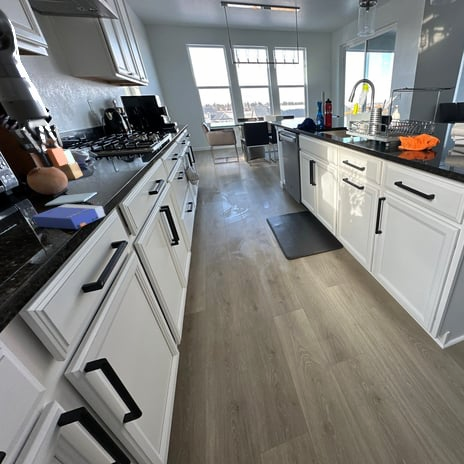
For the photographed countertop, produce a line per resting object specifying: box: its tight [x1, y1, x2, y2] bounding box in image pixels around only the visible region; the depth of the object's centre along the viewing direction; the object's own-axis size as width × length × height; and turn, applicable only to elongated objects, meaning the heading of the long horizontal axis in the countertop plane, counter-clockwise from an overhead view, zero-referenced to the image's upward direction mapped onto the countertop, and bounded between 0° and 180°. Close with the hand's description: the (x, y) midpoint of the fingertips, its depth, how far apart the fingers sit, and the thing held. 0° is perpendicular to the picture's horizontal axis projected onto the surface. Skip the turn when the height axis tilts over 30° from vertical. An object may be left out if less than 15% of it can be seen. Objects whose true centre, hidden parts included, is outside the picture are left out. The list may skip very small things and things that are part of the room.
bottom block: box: [54, 161, 84, 181], centre depth 101 cm, size 6×6×6 cm
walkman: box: [31, 203, 106, 230], centre depth 62 cm, size 8×3×12 cm
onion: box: [26, 166, 69, 196], centre depth 82 cm, size 10×9×10 cm
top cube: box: [32, 146, 69, 168], centre depth 72 cm, size 5×5×5 cm
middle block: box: [63, 149, 76, 165], centre depth 98 cm, size 5×5×5 cm
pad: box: [44, 191, 98, 207], centre depth 78 cm, size 10×8×1 cm
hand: (55, 164), depth 73 cm, fingers closed on top cube, 4 cm apart
